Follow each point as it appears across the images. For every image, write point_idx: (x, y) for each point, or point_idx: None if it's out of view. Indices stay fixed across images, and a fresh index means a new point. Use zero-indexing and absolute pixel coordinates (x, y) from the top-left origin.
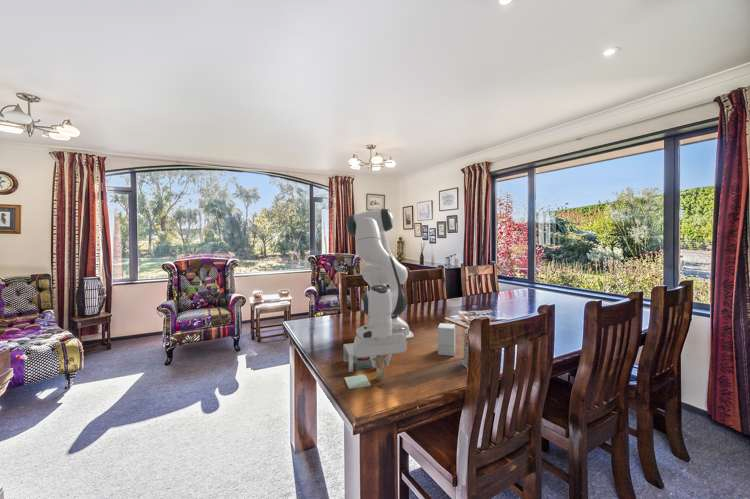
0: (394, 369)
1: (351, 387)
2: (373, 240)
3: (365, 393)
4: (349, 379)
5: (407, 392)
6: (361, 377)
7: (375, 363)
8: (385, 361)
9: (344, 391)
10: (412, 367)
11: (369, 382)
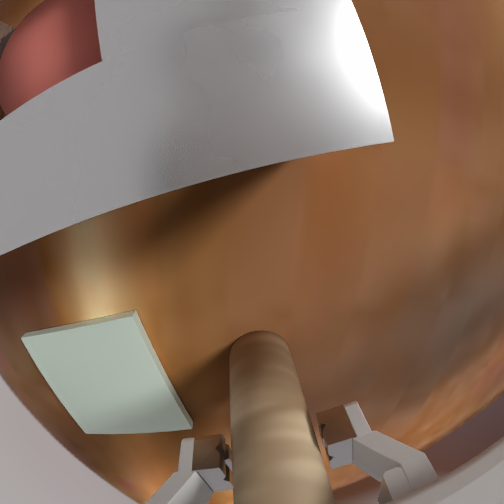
0: (395, 193)
1: (96, 431)
2: None
3: (175, 463)
4: (54, 367)
5: None
6: (116, 355)
7: (221, 484)
8: (330, 467)
9: (78, 437)
10: (495, 179)
11: (182, 416)
